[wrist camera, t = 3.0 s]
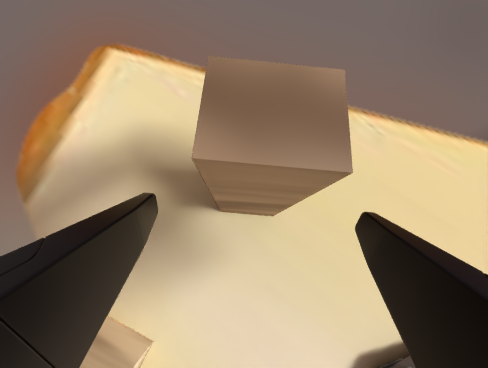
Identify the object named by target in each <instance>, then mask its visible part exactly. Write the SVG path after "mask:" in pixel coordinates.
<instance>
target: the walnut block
mask: <svg viewBox="0 0 488 368" xmlns="http://www.w3.org/2000/svg"><path fill="white" fill-rule="evenodd" d="M192 160H193V162H194V163H195V165H196V167H197V169H198V171H199V172H200V174H201V176H202V178H203V180H204V182H205V183H206V185H207V187H208V189H209V191H210V192H211V194H212V196H213V198H214V200H215V202H216V203H217V205H218V207H219V209H220V211H221V212H230V213H242V214H253V215H265V216H274V215H276V214H278V213H279V212H281V211H283V210H285V209H287V208H289V207H291V206H292V205H294V204H296V203H298V202H300V201H302V200H303V199H305V198H307V197H309V196H311V195H313V194H315V193H316V192H318V191H320V190H322V189H324V188H326V187H327V186H329V185H331V184H333V183H335V182H337V181H338V180H340V179H342V178H344V177H346V176H348V175H350V174H351V173H353V169H352V156H351V144H350V131H349V118H348V106H347V93H346V81H345V70H341V69H331V68H321V67H312V66H301V65H292V64H282V63H272V62H263V61H254V60H244V59H235V58H225V57H215V56H208V61H207V68H206V74H205V80H204V86H203V92H202V98H201V104H200V110H199V116H198V122H197V128H196V134H195V140H194V146H193V153H192Z"/></svg>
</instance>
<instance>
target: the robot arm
mask: <svg viewBox="0 0 488 368" xmlns="http://www.w3.org/2000/svg"><path fill="white" fill-rule="evenodd" d="M157 214H158V206H157V200H156V196H155V194H153V193H142V194H140V195H138V196H136V197H134V198H131V199H129V200H127V201H125V202H122V203H120V204H118V205H116V206H113V207H111V208H109V209H107V210H104V211H102V212H100V213H98V214H95V215H93V216H91V217H89V218H87V219H84V220H82V221H80V222H78V223H75V224H73V225H71V226H69V227H66V228H64V229H62V230H60V231H57V232H55V233H53V234H51V235H48V236H46V238H42V239H39V240H37V241H35V242H33V243H31V244H28V245H26V246H24V247H21V248H19V249H17V250H14V251H12V252H10V253H8V254H5V255H3V256H0V368H80V366H81V364H82V362H83V360H84V358H85V356H86V355H87V353H88V351H89V349H90V347H91V345H92V343H93V342H94V340H95V338H96V336H97V334H98V332H99V330H100V328H101V327H102V325H103V323H104V321H105V319H106V317H107V315H108V314H109V312H110V310H111V308H112V306H113V304H114V302H115V300H116V299H117V297H118V295H119V293H120V291H121V289H122V287H123V286H124V284H125V282H126V280H127V278H128V276H129V274H130V272H131V271H132V269H133V267H134V265H135V263H136V261H137V259H138V258H139V256H140V254H141V252H142V250H143V248H144V246H145V244H146V242H147V239H148V237H149V234H150V232H151V229H152V227H153V224H154V222H155V219H156V216H157ZM355 231H356V234H357V237H358V240H359V243H360V246H361V249H362V251H363V254H364V257H365V260H366V263H367V265H368V267H369V269H370V272H371V274H372V276H373V278H374V280H375V282H376V285H377V287H378V289H379V291H380V293H381V295H382V297H383V300H384V302H385V304H386V306H387V308H388V310H389V312H390V315H391V317H392V319H393V321H394V323H395V325H396V327H397V330H398V332H399V334H400V336H401V338H402V340H403V342H404V345H405V347H406V349H407V351H408V353H409V355H410V358H411V360H412V362H413V364H414V366H415V368H488V275H487V274H485V273H483V272H482V271H480V270H478V269H476V268H475V267H473V266H471V265H469V264H467V263H465V262H464V261H462V260H460V259H458V258H456V257H454V256H453V255H451V254H449V253H447V252H445V251H443V250H442V249H440V248H438V247H436V246H434V245H432V244H431V243H429V242H427V241H425V240H423V239H422V238H420V237H418V236H416V235H414V234H412V233H411V232H409V231H407V230H405V229H403V228H401V227H400V226H398V225H396V224H394V223H392V222H390V221H389V220H387V219H385V218H383V217H381V216H379V215H378V214H376V213H373V212H363V213H362V214H361V216H360V218H359V220H358V222H357V224H356V226H355Z"/></svg>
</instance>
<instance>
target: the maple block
mask: <svg viewBox="0 0 488 368" xmlns="http://www.w3.org/2000/svg"><path fill="white" fill-rule="evenodd" d="M152 343H153V341H152V340H150V339H148V338H147V337H145V336H143V335H141V334H139V333H138V332H136V331H134V330H132V329H130V328H129V327H127V326H125V325H123V324H122V323H120V322H118V321H116V320H114V319H113V318H111V317H109V316H107V317H106V319H105V321H104V323H103V325H102V327H101V328H100V330H99V332H98V334H97V336H96V338H95V340H94V342H93V343H92V345H91V347H90V349H89V351H88V353H87V355H86V356H85V358H84V360H83V362H82V364H81V366H80V368H140V366H141V364H142V362H143V360H144V358H145V357H146V355H147V353H148V351H149V349H150V347H151V345H152Z"/></svg>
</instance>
